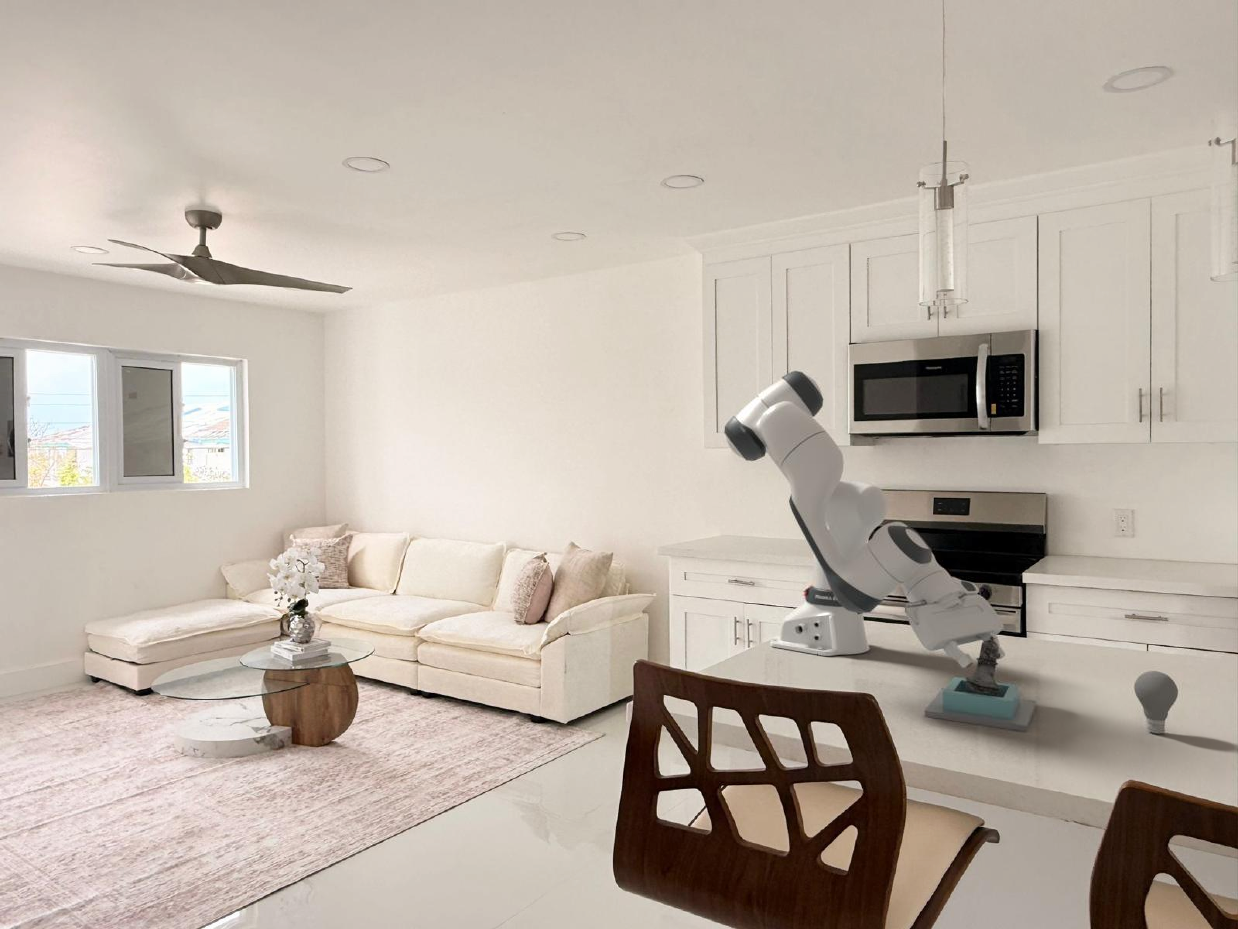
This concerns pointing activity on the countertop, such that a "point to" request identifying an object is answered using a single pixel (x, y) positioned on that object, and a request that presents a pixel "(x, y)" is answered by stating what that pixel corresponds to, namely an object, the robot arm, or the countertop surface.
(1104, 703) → the countertop surface
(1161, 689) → the light bulb
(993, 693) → the salt shaker
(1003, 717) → the socket
